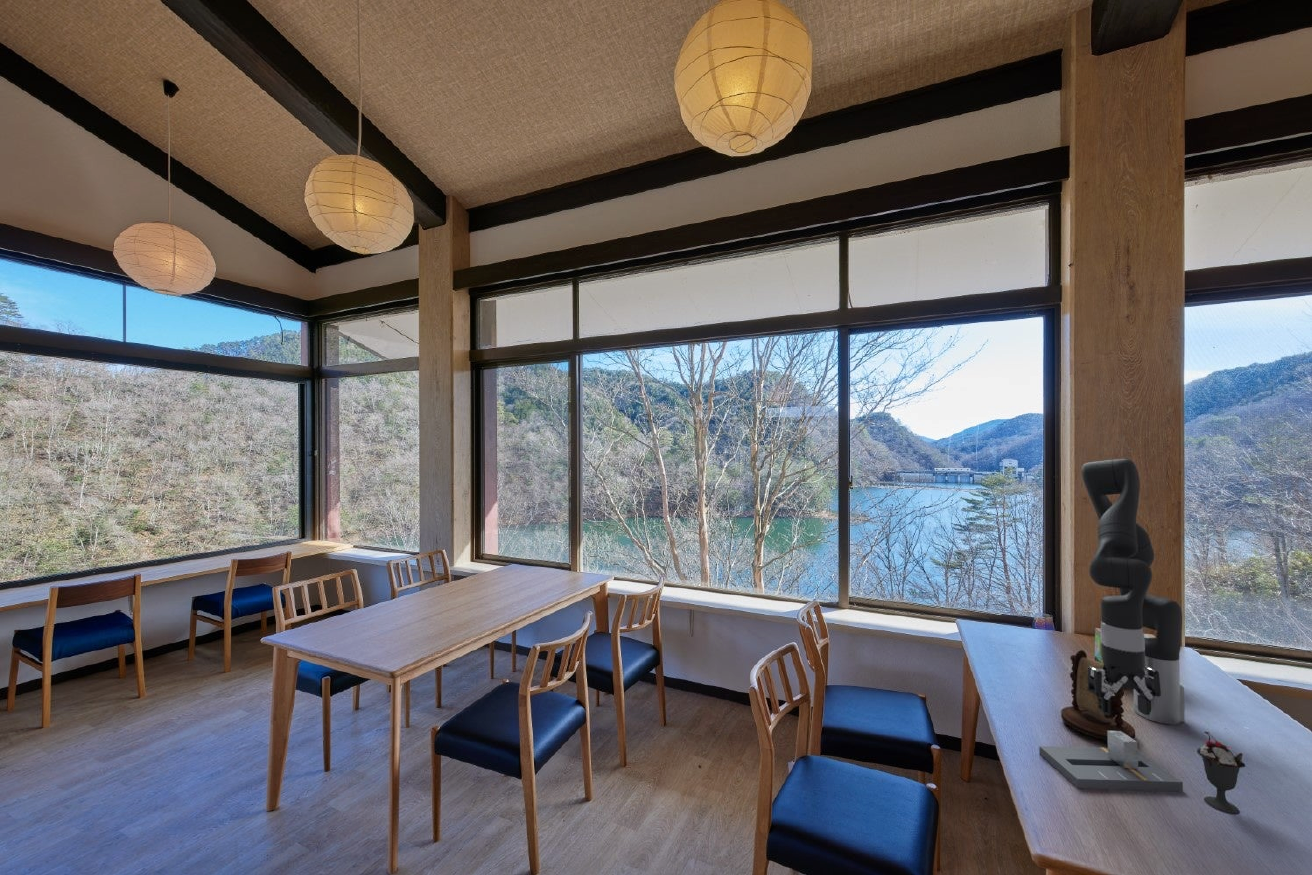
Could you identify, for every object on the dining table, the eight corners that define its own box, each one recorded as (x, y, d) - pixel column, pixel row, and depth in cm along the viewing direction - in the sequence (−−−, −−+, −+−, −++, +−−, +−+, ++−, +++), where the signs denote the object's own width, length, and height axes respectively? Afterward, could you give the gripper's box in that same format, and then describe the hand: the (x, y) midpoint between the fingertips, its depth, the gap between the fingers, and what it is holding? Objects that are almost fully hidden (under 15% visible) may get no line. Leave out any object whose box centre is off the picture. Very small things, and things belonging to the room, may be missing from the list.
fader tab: (1121, 762, 118) (1120, 730, 118) (1138, 774, 113) (1137, 741, 113) (1108, 761, 118) (1107, 730, 118) (1124, 774, 114) (1123, 741, 114)
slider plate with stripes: (1134, 756, 121) (1133, 747, 121) (1182, 791, 109) (1182, 781, 109) (1039, 754, 123) (1039, 745, 123) (1077, 787, 111) (1077, 778, 111)
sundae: (1188, 795, 108) (1187, 726, 108) (1216, 793, 108) (1215, 724, 109) (1225, 818, 101) (1224, 744, 101) (1255, 815, 102) (1253, 742, 102)
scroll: (1049, 722, 136) (1047, 649, 136) (1080, 710, 142) (1079, 640, 142) (1116, 753, 122) (1114, 672, 123) (1147, 738, 128) (1146, 661, 128)
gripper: (1139, 636, 119) (1141, 704, 119) (1077, 637, 120) (1079, 704, 120) (1170, 650, 111) (1172, 722, 111) (1103, 650, 112) (1106, 722, 112)
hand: (1124, 713), depth 116 cm, fingers open, 8 cm apart
